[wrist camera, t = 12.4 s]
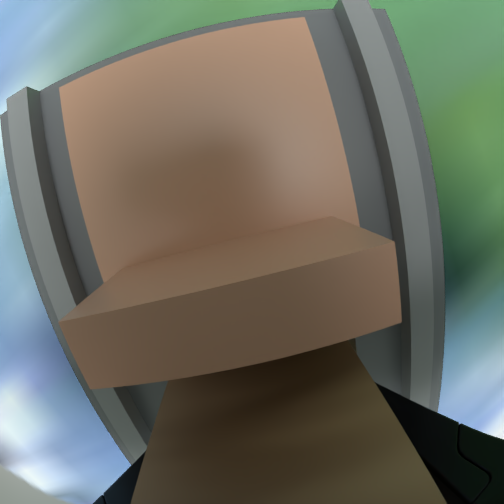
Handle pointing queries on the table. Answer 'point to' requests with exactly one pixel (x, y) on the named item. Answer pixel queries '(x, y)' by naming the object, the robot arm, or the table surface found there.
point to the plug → (282, 438)
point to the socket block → (363, 182)
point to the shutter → (218, 210)
